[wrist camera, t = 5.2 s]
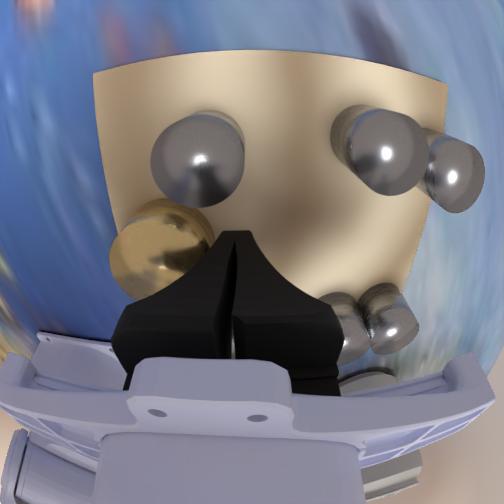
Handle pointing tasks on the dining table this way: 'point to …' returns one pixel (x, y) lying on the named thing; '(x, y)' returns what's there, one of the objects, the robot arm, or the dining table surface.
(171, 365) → the robot arm
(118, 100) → the board
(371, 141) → the metal pegs
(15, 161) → the dining table surface
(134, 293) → the gold dome
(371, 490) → the can
